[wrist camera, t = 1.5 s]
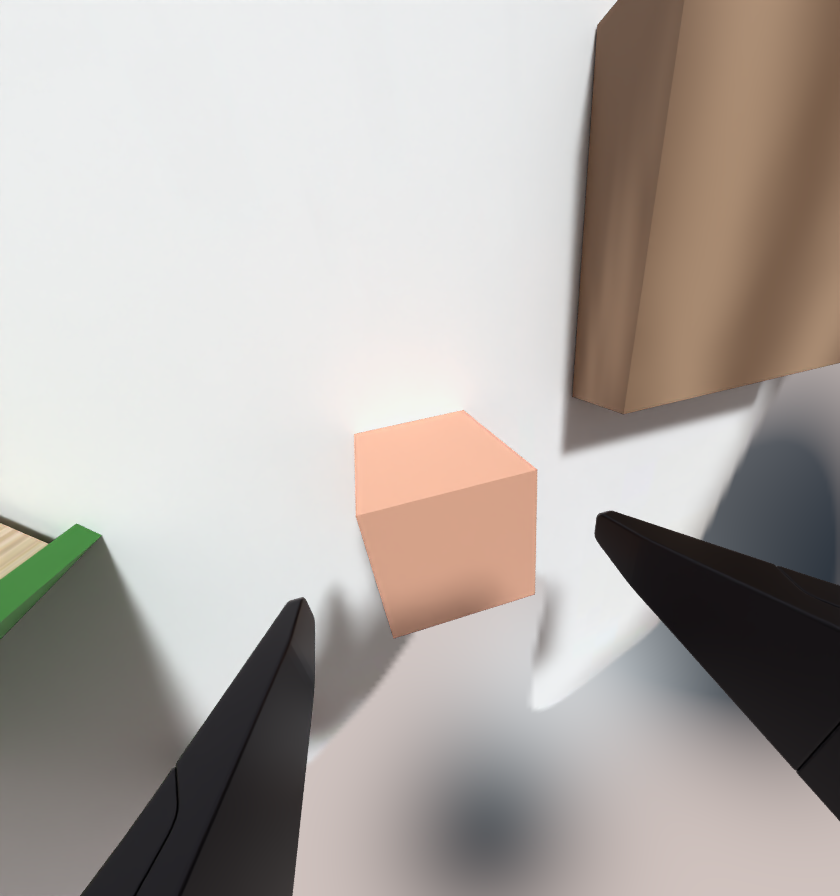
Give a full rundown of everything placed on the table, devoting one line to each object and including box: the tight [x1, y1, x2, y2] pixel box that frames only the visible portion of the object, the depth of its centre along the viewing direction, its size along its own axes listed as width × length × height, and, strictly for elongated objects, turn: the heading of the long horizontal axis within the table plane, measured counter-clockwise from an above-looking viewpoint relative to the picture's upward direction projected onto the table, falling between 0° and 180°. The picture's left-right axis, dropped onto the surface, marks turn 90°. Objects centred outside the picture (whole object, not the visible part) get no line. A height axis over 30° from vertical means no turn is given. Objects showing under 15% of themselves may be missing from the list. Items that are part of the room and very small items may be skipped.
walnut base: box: [572, 0, 840, 414], centre depth 11 cm, size 12×12×3 cm
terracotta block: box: [354, 410, 537, 638], centre depth 11 cm, size 5×5×6 cm
